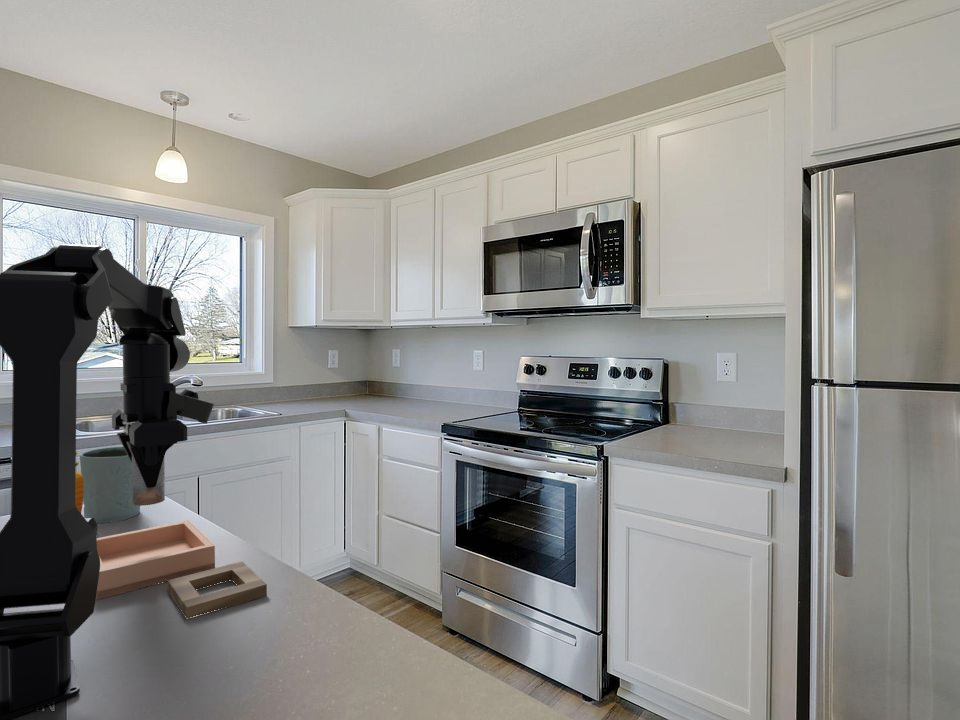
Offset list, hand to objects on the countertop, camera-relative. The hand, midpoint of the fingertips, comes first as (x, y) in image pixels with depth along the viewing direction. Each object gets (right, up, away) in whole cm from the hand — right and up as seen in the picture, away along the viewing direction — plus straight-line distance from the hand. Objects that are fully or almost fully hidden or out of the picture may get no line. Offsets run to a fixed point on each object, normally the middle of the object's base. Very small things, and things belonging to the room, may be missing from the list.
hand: (148, 484), depth 78 cm
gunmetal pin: (0, -3, 0) cm, 3 cm away
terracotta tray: (0, -12, +1) cm, 12 cm away
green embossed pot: (-20, -11, +23) cm, 33 cm away
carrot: (-19, -12, +9) cm, 24 cm away
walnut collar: (+14, -13, -7) cm, 20 cm away
